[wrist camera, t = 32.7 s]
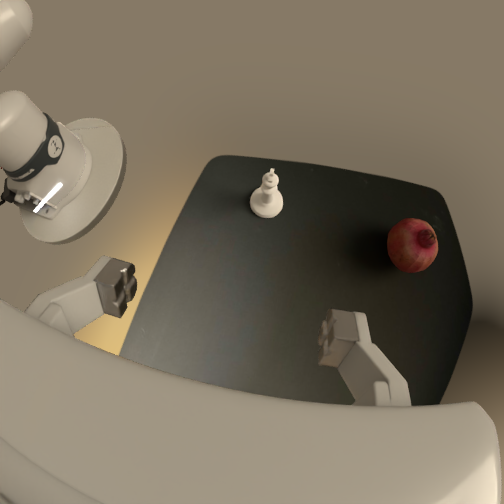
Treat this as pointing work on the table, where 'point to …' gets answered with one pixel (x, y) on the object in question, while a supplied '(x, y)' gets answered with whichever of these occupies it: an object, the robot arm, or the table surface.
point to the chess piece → (267, 197)
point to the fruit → (412, 245)
